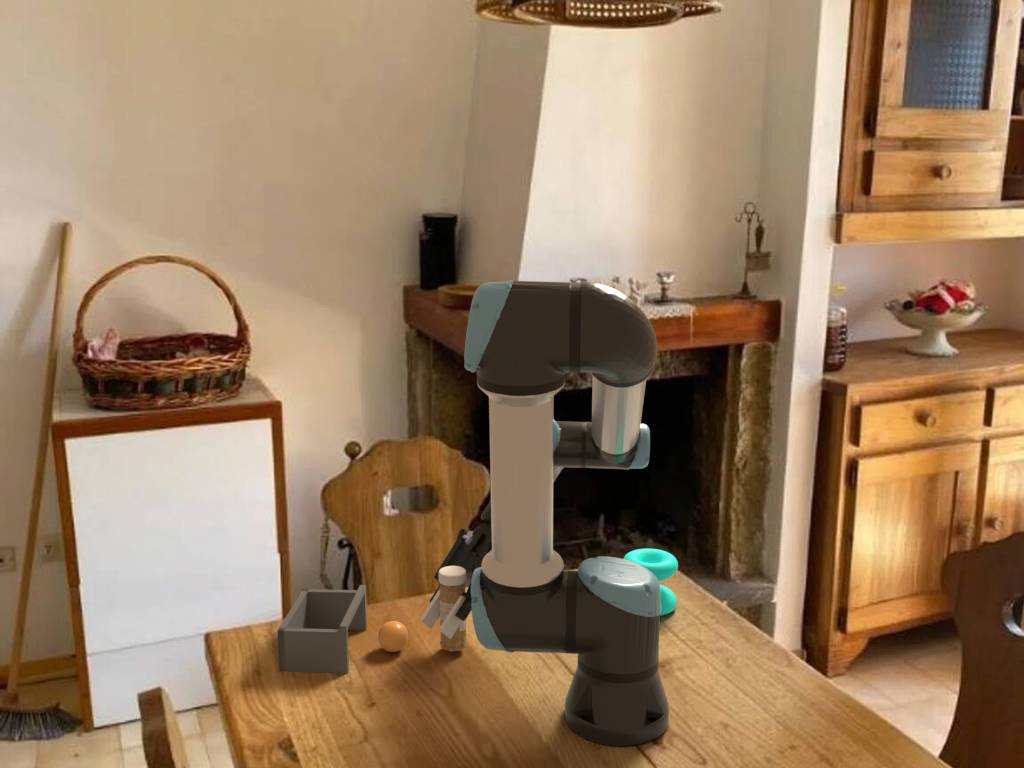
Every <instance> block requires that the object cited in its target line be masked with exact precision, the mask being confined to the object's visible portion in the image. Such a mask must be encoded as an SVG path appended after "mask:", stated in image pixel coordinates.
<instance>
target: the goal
mask: <svg viewBox="0 0 1024 768" xmlns="http://www.w3.org/2000/svg"><path fill="white" fill-rule="evenodd" d="M367 608H368V607H367V586H366V584H360V585H359V586H358V588H357V590H356V589H318V588H317V589H314V588H313V589H312V588H311V589H310V588H304V589H302V591H301V592H300V594H299V595H298V596H297V598H296V600H295V602H294V603H293V605H292V607H291V608H290V610H289V611H288V613H287V615H286V616H285V618H284V619H283V620H282V622H281V624H280V626H279V627H278V629H277V631H276V634H277V651H278V671H279V672H290V673H291V672H292V673H293V672H294V673H296V672H297V673H329V674H330V673H332V674H333V673H334V674H335V673H337V674H348V673H349V670H350V664H349V663H350V661H349V660H350V659H349V632H348V631H367V629H368V616H367V615H368V613H367V611H368V609H367Z"/></svg>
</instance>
